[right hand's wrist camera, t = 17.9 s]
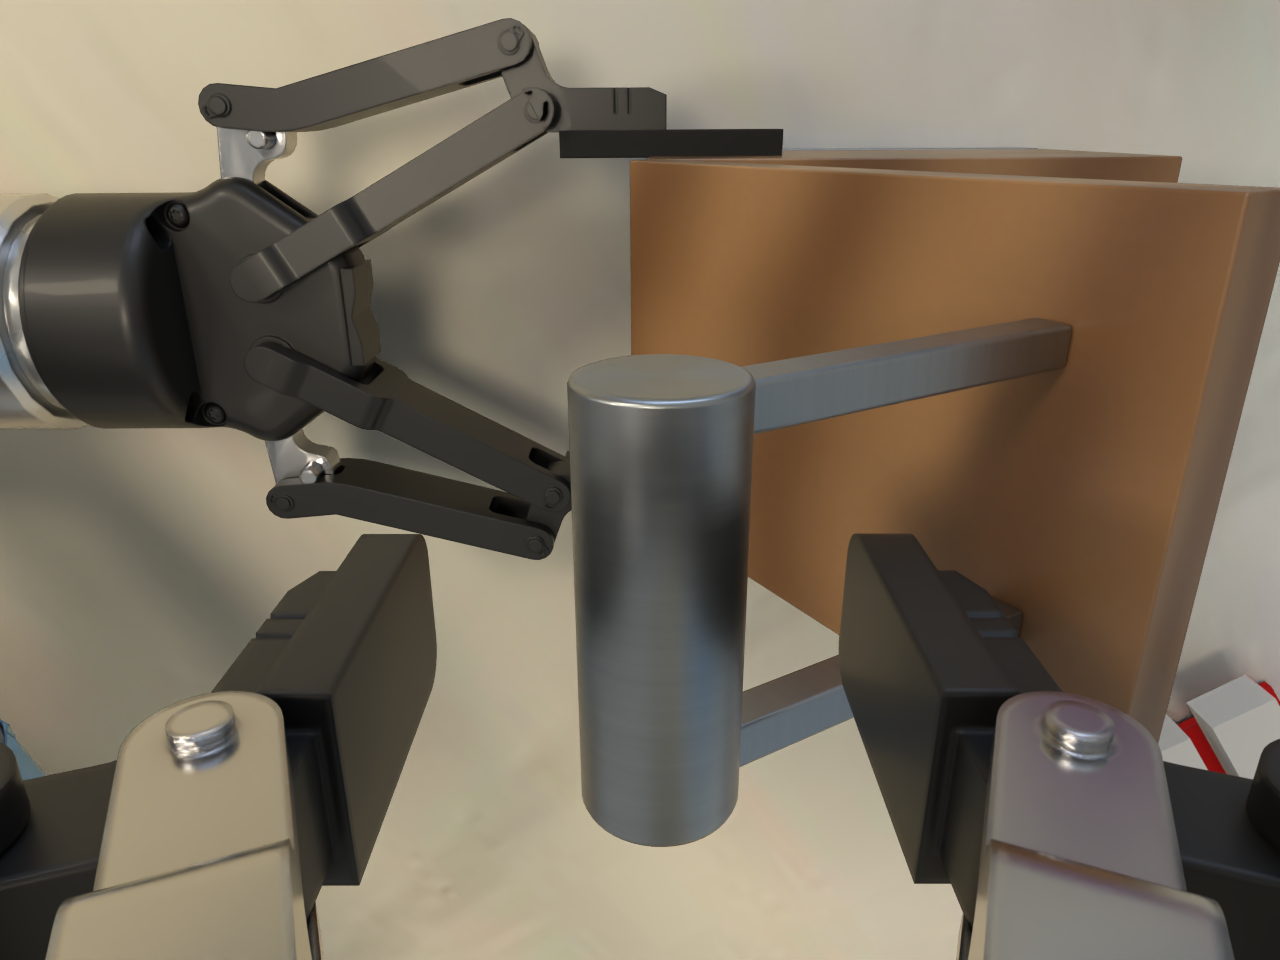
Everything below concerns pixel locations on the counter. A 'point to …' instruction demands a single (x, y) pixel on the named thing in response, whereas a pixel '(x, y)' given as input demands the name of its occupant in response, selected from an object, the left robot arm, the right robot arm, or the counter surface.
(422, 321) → the counter surface
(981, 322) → the lid
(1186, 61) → the counter surface
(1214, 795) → the right robot arm
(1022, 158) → the chest
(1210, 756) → the toy
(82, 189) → the counter surface
